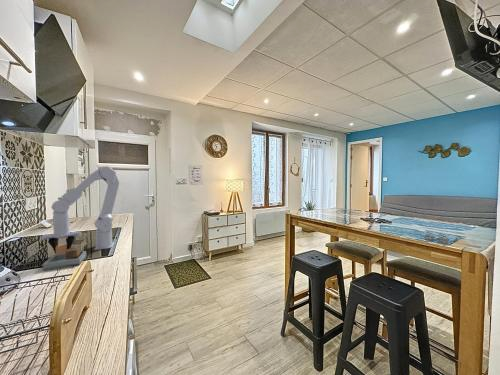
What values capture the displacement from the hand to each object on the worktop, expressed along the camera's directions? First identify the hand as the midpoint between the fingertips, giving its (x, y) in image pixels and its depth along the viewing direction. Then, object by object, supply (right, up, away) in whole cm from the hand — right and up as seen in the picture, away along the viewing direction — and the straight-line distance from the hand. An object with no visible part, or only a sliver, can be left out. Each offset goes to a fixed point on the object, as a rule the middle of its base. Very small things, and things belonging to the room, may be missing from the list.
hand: (62, 252), depth 103 cm
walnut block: (+12, -1, -8) cm, 15 cm away
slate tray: (+10, -2, -9) cm, 14 cm away
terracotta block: (0, -1, 0) cm, 1 cm away
